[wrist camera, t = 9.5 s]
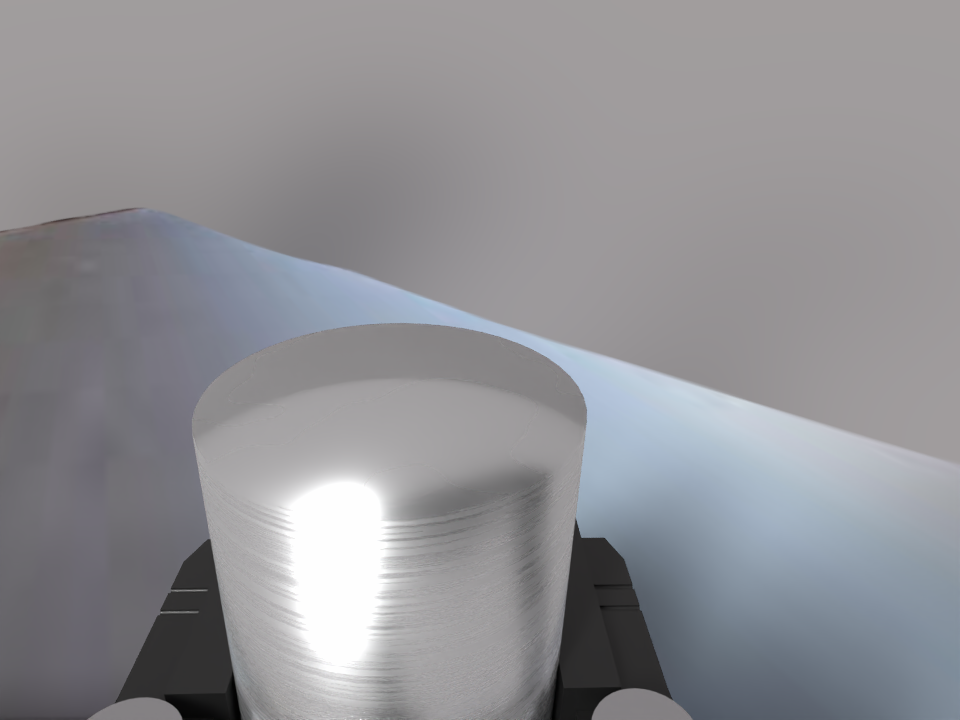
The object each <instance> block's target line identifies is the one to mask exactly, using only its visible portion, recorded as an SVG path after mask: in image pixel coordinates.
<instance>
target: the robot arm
mask: <svg viewBox="0 0 960 720" xmlns="http://www.w3.org/2000/svg"><path fill="white" fill-rule="evenodd" d="M87 720H241V714H240V708H239V703H238V697H237V691H236V685H235V679H234V673H233V668H232V662H231V656H230V650H229V644H228V638H227V633H226V627H225V621H224V615H223V609H222V603H221V598H220V592H219V586H218V580H217V574H216V569H215V563H214V557H213V551H212V545H211V539H208V540H207V541H206V542H204V543H203V544H202V545H201V546H200V547H199V548H198V549H197V550H196V551H195V552H194V553H193V554H192V555H191V556H190V557H188V558H187V559H186V560H185V561H184V562H183V564H182V566H181V569H180V571H179V573H178V575H177V577H176V579H175V581H174V583H173V585H172V587H171V593H168V595H167V597H166V600H165V602H164V604H163V606H162V608H161V613H160V615H158V616H157V618H156V620H155V622H154V624H153V626H152V628H151V630H150V633H149V635H148V637H147V639H146V641H145V643H144V645H143V647H142V649H141V651H140V653H139V655H138V657H137V659H136V661H135V664H134V666H133V668H132V670H131V672H130V674H129V676H128V678H127V680H126V682H125V684H124V686H123V688H122V690H121V692H120V694H119V697H118V699H117V700H116V702H115V704H113V705H111V706H108V707H106V708H105V709H103V710H101V711H99V712H97V713H96V714H94V715H93V716H92V717H90V718H89V719H87ZM552 720H693V719H692V718H691V716H690V715H689V714H688V713H687V712H686V711H685V710H684V709H683V708H682V707H681V706H680V705H678V704H677V703H676V702H674V701H673V699H672V697H671V695H670V693H669V690H668V688H667V685H666V682H665V679H664V676H663V673H662V670H661V667H660V664H659V661H658V658H657V655H656V652H655V650H654V647H653V644H652V641H651V638H650V635H649V632H648V629H647V626H646V623H645V620H644V617H643V614H642V611H640V609H639V602H638V599H637V596H636V594H635V591H634V589H633V588H632V582H631V579H630V576H629V573H628V570H627V567H626V564H625V561H624V559H623V558H622V557H621V556H620V554H619V553H618V552H617V551H616V550H615V549H614V548H613V547H612V546H611V545H610V544H609V542H608V541H607V540H606V539H605V538H581V535H580V532H579V528H578V524H577V521H576V518H575V526H574V535H573V543H572V552H571V561H570V569H569V578H568V586H567V595H566V604H565V612H564V621H563V629H562V638H561V647H560V655H559V664H558V673H557V681H556V690H555V698H554V707H553V716H552Z"/></svg>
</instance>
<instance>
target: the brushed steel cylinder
mask: <svg viewBox="0 0 960 720" xmlns="http://www.w3.org/2000/svg"><path fill="white" fill-rule="evenodd" d="M586 423H587V409H586V405H585V401H584V397H583V395H582V393H581V391H580V389H579V387H578V386H577V385H576V383H575V382H574V381H573V379H572V378H571V377H570V376H569V375H568V374H567V373H566V372H565V371H564V370H563V369H562V368H560V367H559V366H558V365H557V364H555V363H554V362H552V361H551V360H550V359H548V358H547V357H545V356H543V355H541V354H539V353H538V352H536V351H534V350H532V349H530V348H527V347H525V346H523V345H521V344H518V343H516V342H513V341H510V340H507V339H504V338H501V337H498V336H494V335H490V334H487V333H483V332H478V331H473V330H468V329H463V328H456V327H450V326H441V325H430V324H411V323H389V324H370V325H359V326H350V327H343V328H337V329H331V330H325V331H320V332H316V333H312V334H307V335H303V336H300V337H297V338H293V339H290V340H286V341H284V342H281V343H278V344H275V345H273V346H270V347H267V348H265V349H263V350H261V351H259V352H256V353H254V354H252V355H250V356H248V357H247V358H245V359H243V360H241V361H239V362H238V363H236V364H235V365H233V366H232V367H230V368H229V369H228V370H226V371H225V372H223V373H222V374H221V375H220V376H219V377H218V378H217V379H216V380H214V381H213V382H212V383H211V384H210V386H209V387H208V388H207V389H206V391H205V392H204V393H203V394H202V396H201V398H200V400H199V401H198V403H197V405H196V407H195V411H194V415H193V419H192V434H193V440H194V446H195V452H196V458H197V464H198V469H199V475H200V481H201V487H202V493H203V499H204V504H205V510H206V516H207V522H208V528H209V534H210V539H211V545H212V551H213V557H214V563H215V569H216V574H217V580H218V586H219V592H220V598H221V603H222V609H223V615H224V621H225V627H226V633H227V638H228V644H229V650H230V656H231V662H232V668H233V673H234V679H235V685H236V691H237V697H238V703H239V708H240V714H241V720H552V716H553V707H554V698H555V690H556V681H557V673H558V664H559V655H560V647H561V638H562V629H563V621H564V612H565V604H566V595H567V586H568V578H569V569H570V561H571V552H572V543H573V535H574V526H575V518H576V509H577V500H578V492H579V483H580V474H581V466H582V457H583V449H584V440H585V431H586Z"/></svg>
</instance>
